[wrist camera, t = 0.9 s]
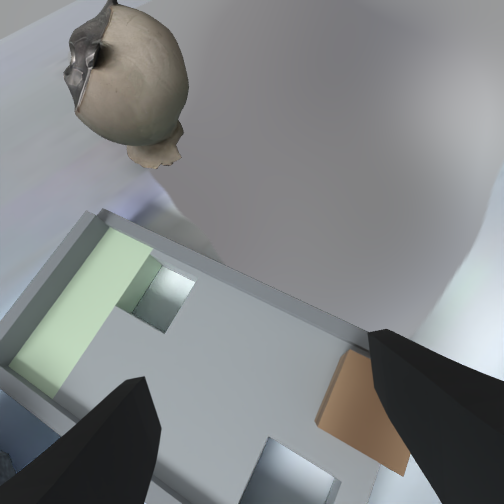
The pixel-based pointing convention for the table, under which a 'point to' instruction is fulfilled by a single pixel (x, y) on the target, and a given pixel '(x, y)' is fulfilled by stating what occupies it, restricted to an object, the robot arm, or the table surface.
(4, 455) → the mortar and pestle
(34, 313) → the trap lane
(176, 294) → the table surface
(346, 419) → the block
